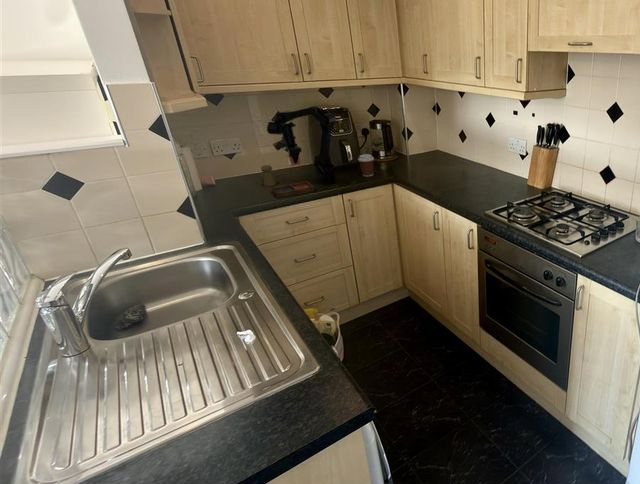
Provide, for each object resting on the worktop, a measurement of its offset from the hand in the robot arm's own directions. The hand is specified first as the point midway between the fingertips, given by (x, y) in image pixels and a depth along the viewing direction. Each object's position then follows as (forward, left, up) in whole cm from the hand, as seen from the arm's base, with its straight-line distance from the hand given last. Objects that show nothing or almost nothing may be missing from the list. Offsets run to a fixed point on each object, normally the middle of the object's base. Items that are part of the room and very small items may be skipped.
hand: (294, 162), depth 230 cm
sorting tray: (+7, +19, -11) cm, 23 cm away
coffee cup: (-36, +15, -11) cm, 40 cm away
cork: (+14, -1, -11) cm, 18 cm away
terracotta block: (0, 0, -1) cm, 1 cm away
